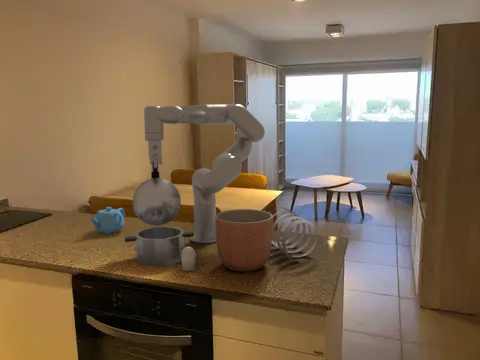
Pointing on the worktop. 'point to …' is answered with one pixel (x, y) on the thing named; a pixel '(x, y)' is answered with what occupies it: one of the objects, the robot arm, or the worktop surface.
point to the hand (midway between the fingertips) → (155, 181)
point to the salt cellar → (188, 259)
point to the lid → (156, 201)
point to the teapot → (109, 220)
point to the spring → (289, 230)
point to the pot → (159, 245)
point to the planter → (244, 238)
